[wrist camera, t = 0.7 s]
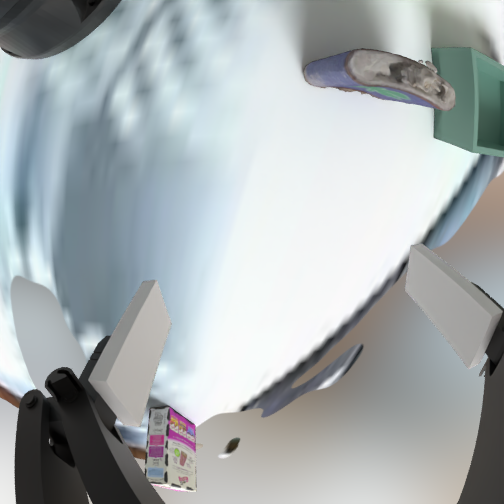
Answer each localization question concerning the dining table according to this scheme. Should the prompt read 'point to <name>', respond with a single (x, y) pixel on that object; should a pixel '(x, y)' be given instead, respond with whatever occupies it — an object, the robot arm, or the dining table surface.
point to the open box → (471, 101)
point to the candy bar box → (170, 450)
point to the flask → (383, 78)
